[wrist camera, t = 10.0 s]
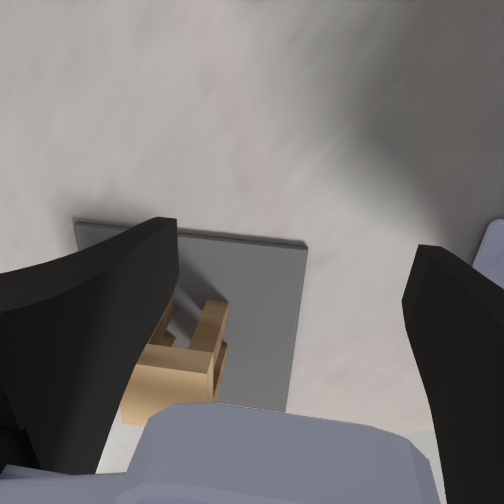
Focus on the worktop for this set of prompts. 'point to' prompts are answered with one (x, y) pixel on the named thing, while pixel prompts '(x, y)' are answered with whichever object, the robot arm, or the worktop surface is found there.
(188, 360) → the tan notched block
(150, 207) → the worktop surface
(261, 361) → the mat
